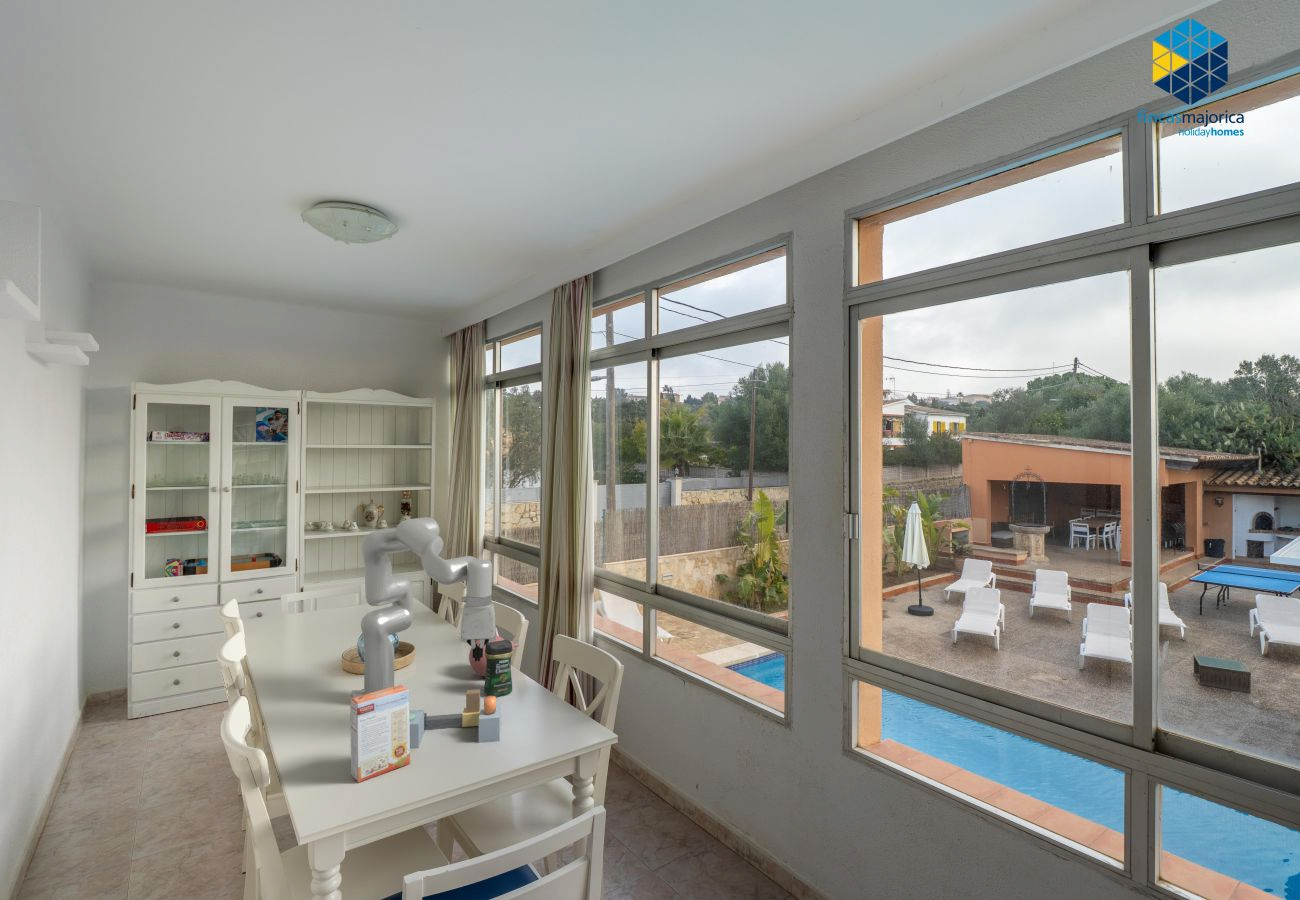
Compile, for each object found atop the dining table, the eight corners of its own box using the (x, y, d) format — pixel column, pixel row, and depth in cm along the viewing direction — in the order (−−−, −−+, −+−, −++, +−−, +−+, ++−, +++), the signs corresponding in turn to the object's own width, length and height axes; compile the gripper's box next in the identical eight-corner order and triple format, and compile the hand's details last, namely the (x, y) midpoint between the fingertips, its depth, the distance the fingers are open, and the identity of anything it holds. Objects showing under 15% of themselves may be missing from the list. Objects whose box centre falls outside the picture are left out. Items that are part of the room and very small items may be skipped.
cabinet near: (393, 749, 179) (393, 722, 179) (400, 734, 189) (400, 707, 189) (418, 747, 181) (418, 720, 181) (424, 732, 191) (424, 706, 191)
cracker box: (401, 756, 176) (401, 683, 175) (410, 764, 171) (410, 689, 171) (349, 774, 166) (349, 696, 166) (357, 783, 161) (357, 703, 161)
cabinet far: (478, 742, 184) (478, 719, 184) (481, 727, 194) (481, 705, 194) (499, 740, 185) (499, 717, 185) (500, 726, 195) (500, 703, 195)
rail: (420, 730, 192) (420, 717, 192) (422, 726, 195) (422, 713, 195) (488, 724, 196) (488, 712, 196) (489, 720, 199) (489, 708, 199)
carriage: (462, 726, 193) (462, 695, 193) (464, 719, 198) (464, 689, 198) (482, 725, 194) (482, 694, 194) (483, 718, 199) (483, 687, 199)
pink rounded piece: (528, 674, 239) (528, 635, 239) (477, 686, 227) (477, 644, 227) (511, 663, 252) (511, 625, 251) (463, 673, 240) (463, 634, 240)
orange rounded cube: (483, 714, 186) (483, 700, 186) (484, 709, 190) (484, 696, 190) (495, 713, 187) (495, 700, 187) (496, 708, 191) (496, 695, 191)
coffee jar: (488, 699, 215) (489, 646, 215) (481, 692, 222) (481, 640, 222) (515, 693, 220) (515, 641, 220) (507, 686, 227) (507, 636, 227)
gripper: (452, 604, 186) (450, 665, 186) (503, 603, 189) (501, 663, 189) (455, 598, 193) (453, 656, 193) (504, 597, 196) (503, 654, 196)
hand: (477, 659), depth 191 cm, fingers closed
